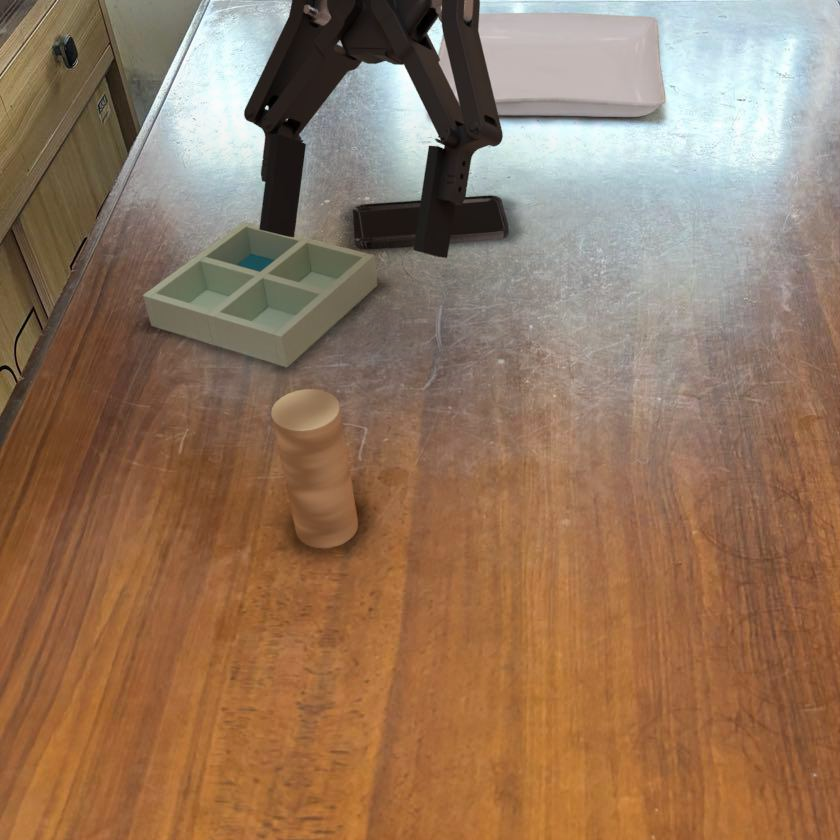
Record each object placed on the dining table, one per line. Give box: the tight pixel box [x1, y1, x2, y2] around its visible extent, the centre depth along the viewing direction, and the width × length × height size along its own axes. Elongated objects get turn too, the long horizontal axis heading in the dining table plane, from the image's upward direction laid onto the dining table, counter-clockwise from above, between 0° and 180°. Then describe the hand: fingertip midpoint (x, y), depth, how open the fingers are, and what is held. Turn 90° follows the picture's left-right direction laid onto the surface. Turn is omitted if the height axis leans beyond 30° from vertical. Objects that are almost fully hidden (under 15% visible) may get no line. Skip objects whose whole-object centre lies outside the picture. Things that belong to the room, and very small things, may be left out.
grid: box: [142, 221, 379, 368], centre depth 98 cm, size 14×14×4 cm
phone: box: [352, 194, 510, 250], centre depth 109 cm, size 8×1×15 cm
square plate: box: [437, 12, 667, 118], centre depth 135 cm, size 27×27×4 cm
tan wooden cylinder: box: [270, 388, 359, 549], centre depth 75 cm, size 4×4×11 cm
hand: (350, 244), depth 75 cm, fingers open, 13 cm apart
